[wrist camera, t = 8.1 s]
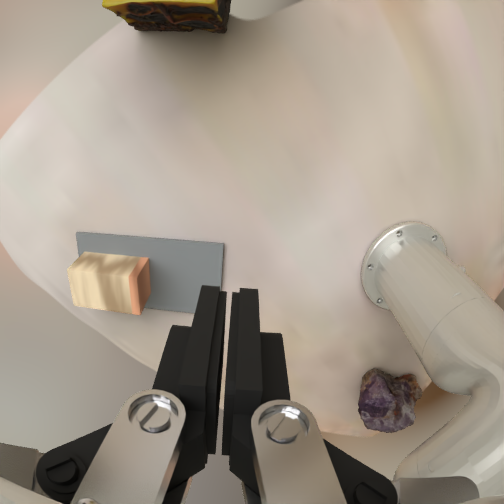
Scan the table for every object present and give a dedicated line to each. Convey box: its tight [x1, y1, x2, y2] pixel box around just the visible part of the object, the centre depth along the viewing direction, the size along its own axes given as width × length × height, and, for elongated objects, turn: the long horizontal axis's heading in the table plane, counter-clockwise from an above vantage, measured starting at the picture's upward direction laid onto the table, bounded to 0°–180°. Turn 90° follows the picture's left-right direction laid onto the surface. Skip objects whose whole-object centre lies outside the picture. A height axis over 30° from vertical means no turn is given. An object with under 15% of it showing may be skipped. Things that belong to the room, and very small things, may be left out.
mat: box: [76, 232, 224, 313], centre depth 39 cm, size 19×10×1 cm, turn 85°
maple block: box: [67, 252, 151, 315], centre depth 37 cm, size 5×5×9 cm
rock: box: [358, 369, 422, 433], centre depth 46 cm, size 12×9×10 cm
